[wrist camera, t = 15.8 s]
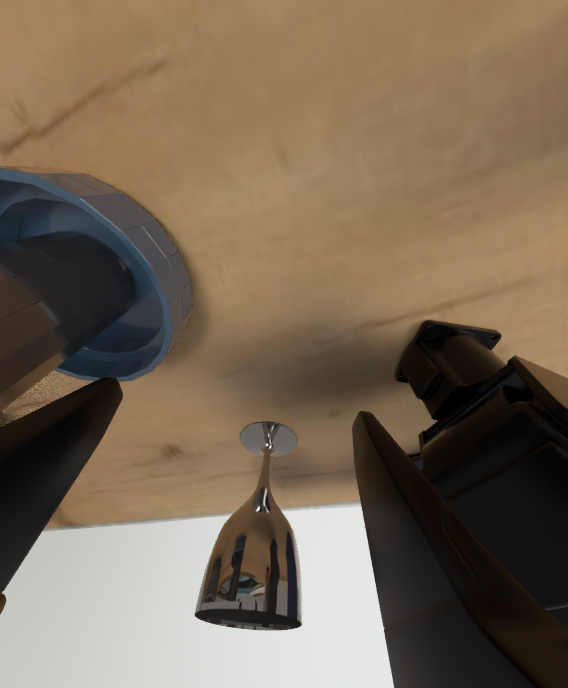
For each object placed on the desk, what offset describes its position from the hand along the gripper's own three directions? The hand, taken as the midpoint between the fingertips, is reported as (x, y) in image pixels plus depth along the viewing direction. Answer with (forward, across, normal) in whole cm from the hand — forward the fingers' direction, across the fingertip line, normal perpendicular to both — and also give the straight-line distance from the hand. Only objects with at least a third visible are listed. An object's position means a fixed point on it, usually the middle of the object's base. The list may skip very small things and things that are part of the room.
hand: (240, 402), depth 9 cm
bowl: (+12, +13, +2) cm, 18 cm away
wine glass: (+12, -2, +20) cm, 24 cm away
